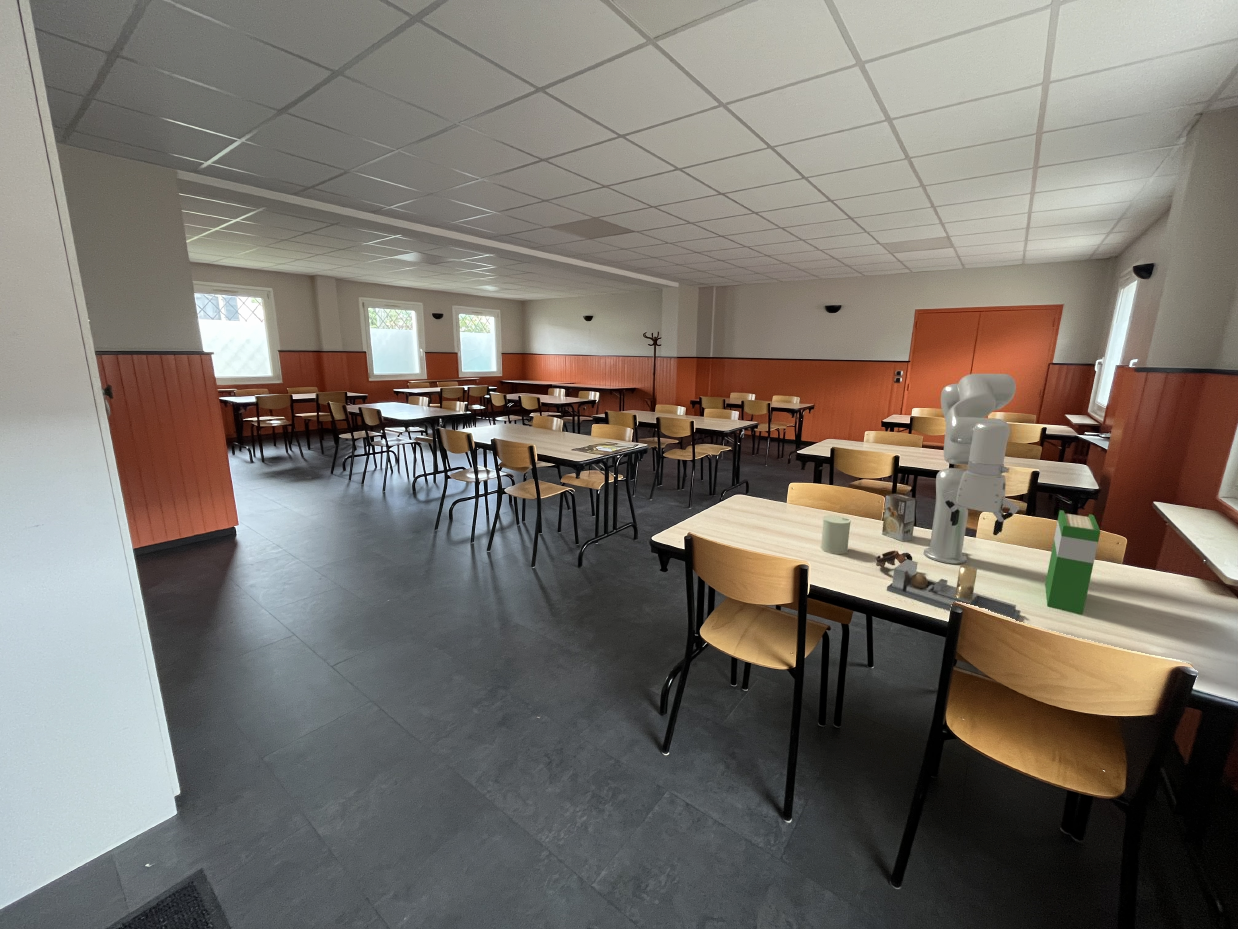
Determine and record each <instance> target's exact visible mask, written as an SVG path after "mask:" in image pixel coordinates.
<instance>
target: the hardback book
mask: <svg viewBox="0 0 1238 929" xmlns="http://www.w3.org/2000/svg"><path fill="white" fill-rule="evenodd" d="M1101 532H1102V531H1101V530H1100V527H1099V524H1098V523H1097V520H1096V518H1095V515H1093V514H1088V516H1084V515H1079V514H1078V515H1077V514H1071V513H1065V511H1064V510H1063V509H1062V510H1061V509H1060V510H1059V511H1058V517H1057V523H1056V528H1055V533H1054V537H1053V543H1052V548H1051V553H1050V558H1049V562H1048V563H1049V564H1048V567H1047V573H1046V577H1045V578H1046V579H1045V583H1044V588H1045V596H1046V606H1047V607H1048V608H1052V609H1057V610H1061V611H1063V612H1069V613H1073V614H1077V615H1084V610H1085V605H1086V599H1087V596H1088V591H1089V587H1090V582H1091V578H1092V572H1093V568H1094V563H1095V559H1096V554H1097V549H1098V545H1099V542H1100V540H1099V539H1100V536H1101Z"/></svg>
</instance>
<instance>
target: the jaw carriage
mask: <svg viewBox="0 0 1238 929" xmlns="http://www.w3.org/2000/svg"><path fill="white" fill-rule="evenodd" d="M958 568H959V569H958V575H957V582H956V587H955V586H952V585H949V584H948V580H947V579H943V578H941V579H939V580H938V581H936V582H937V583H936V584H935V585H934V591H933V593H935V594H938V595H941V596H944V597H948V598H951V599H954V600H957V601H960V602H964V603H967V604H970V605H974V603H975V602H976V601H977V599H978V594H979V593H977V592H974V590H975V585H976V577H977V572H978V569H977V568H976V567H975V566H970V565H967V564H966V565H963V564H961V565H960V566H959V567H958Z"/></svg>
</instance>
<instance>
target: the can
mask: <svg viewBox="0 0 1238 929" xmlns="http://www.w3.org/2000/svg"><path fill="white" fill-rule="evenodd" d="M851 522H852V521H851V519H850V518H849V517H845V516H841V515H836V514H834V515H833V514H831V515H830V514H829V515H824V516H823V520H822V532H821V543H820V550H822V551H823V552H825V553H829V554H834V555H845V554H847V553H848V552H849V548H848V547H849V541H850V540H849V538H850V529H851Z"/></svg>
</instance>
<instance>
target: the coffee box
mask: <svg viewBox="0 0 1238 929" xmlns="http://www.w3.org/2000/svg"><path fill="white" fill-rule="evenodd" d="M884 503H885V504H884V512H883V521H882V522H883V523H882V532H881V535H883V536H887V537H890V538H892V539H894V540H896V541H901V542H906V541H910V540H913V537H914V528H915V519H916V511H917V503H918V499H917V498H916V497H911V496H908V495H903V494H900V493H891V494H887V495H886V496H885V502H884Z"/></svg>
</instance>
